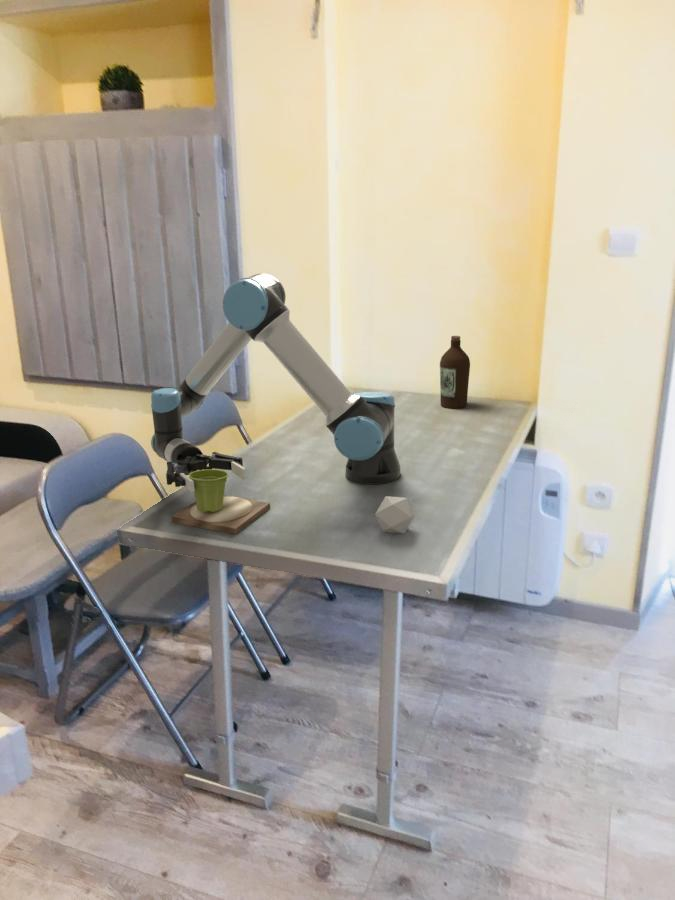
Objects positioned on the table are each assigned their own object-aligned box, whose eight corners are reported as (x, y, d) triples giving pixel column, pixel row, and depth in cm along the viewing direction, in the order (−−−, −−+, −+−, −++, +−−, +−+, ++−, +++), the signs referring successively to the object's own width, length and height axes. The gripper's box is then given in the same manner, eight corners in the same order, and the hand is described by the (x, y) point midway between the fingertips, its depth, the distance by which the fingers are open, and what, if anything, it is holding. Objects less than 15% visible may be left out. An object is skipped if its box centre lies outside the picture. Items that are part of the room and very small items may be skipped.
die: (418, 527, 176) (399, 490, 177) (423, 524, 167) (403, 485, 169) (387, 542, 175) (368, 505, 176) (390, 540, 166) (370, 501, 168)
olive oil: (451, 399, 278) (453, 332, 269) (474, 405, 270) (477, 336, 262) (432, 405, 271) (434, 336, 263) (455, 411, 263) (458, 340, 255)
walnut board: (270, 508, 186) (269, 501, 185) (235, 534, 172) (235, 527, 172) (209, 497, 193) (208, 491, 193) (171, 522, 180) (171, 515, 179)
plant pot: (212, 500, 188) (210, 466, 186) (237, 507, 182) (236, 473, 180) (182, 509, 181) (180, 474, 179) (207, 517, 175) (206, 482, 173)
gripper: (228, 459, 204) (266, 483, 187) (139, 480, 191) (171, 507, 174) (226, 433, 201) (264, 454, 184) (136, 452, 188) (168, 476, 171)
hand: (219, 480), depth 179 cm, fingers open, 13 cm apart
